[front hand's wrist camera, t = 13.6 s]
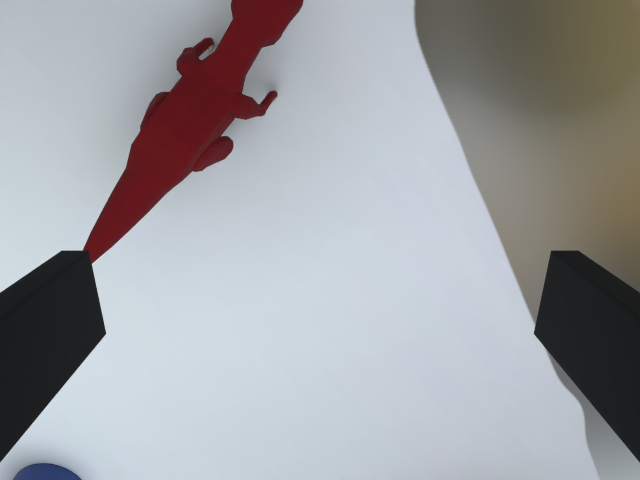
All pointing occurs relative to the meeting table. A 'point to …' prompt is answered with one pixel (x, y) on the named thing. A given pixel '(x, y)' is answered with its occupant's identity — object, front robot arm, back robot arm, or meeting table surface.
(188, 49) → the toy
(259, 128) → the meeting table surface
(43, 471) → the can
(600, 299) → the front robot arm
